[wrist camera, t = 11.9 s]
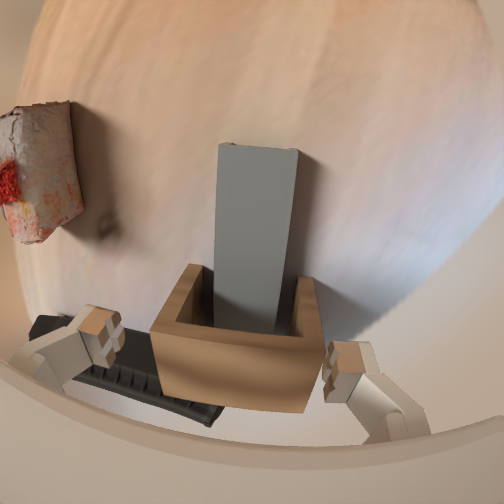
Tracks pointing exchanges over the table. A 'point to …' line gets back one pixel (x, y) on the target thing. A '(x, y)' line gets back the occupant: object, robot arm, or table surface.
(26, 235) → the food item
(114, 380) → the magazine
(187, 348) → the wooden arch
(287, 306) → the table surface
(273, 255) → the grey channel riser
